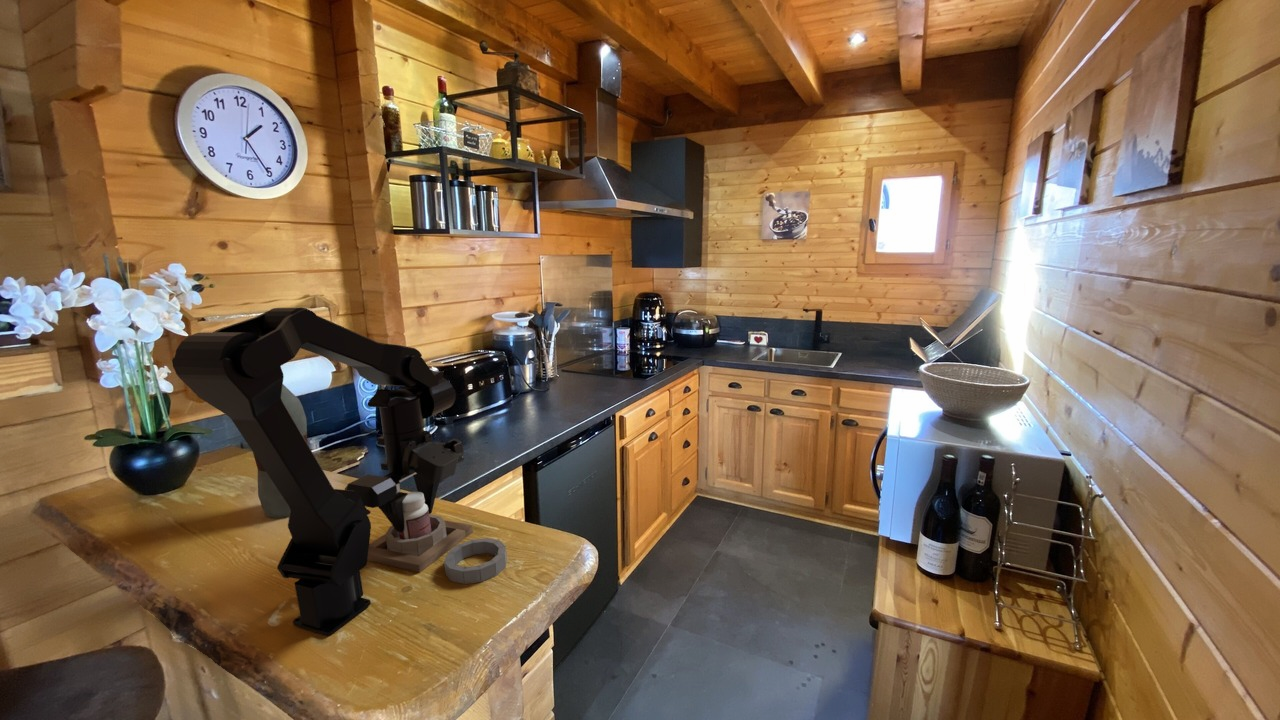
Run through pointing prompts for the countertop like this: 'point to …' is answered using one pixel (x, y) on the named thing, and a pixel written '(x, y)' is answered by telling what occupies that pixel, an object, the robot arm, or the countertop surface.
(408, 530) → the pill bottle
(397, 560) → the socket board
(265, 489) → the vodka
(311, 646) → the countertop surface
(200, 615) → the countertop surface
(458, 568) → the holder
